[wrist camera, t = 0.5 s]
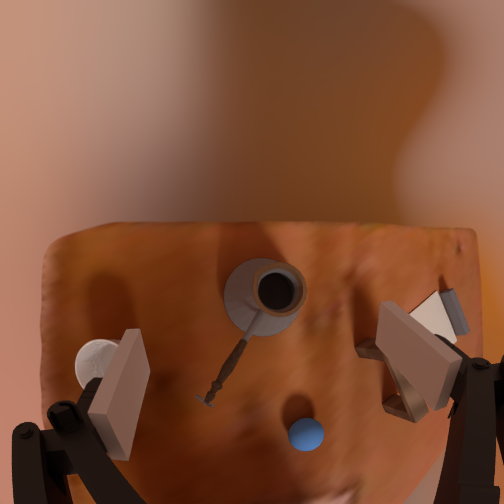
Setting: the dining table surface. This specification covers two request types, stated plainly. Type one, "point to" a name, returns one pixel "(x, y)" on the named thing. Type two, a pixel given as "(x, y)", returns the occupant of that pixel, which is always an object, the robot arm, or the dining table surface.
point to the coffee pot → (259, 305)
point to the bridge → (409, 399)
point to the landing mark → (434, 317)
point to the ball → (306, 434)
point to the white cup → (94, 359)
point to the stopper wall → (454, 311)
